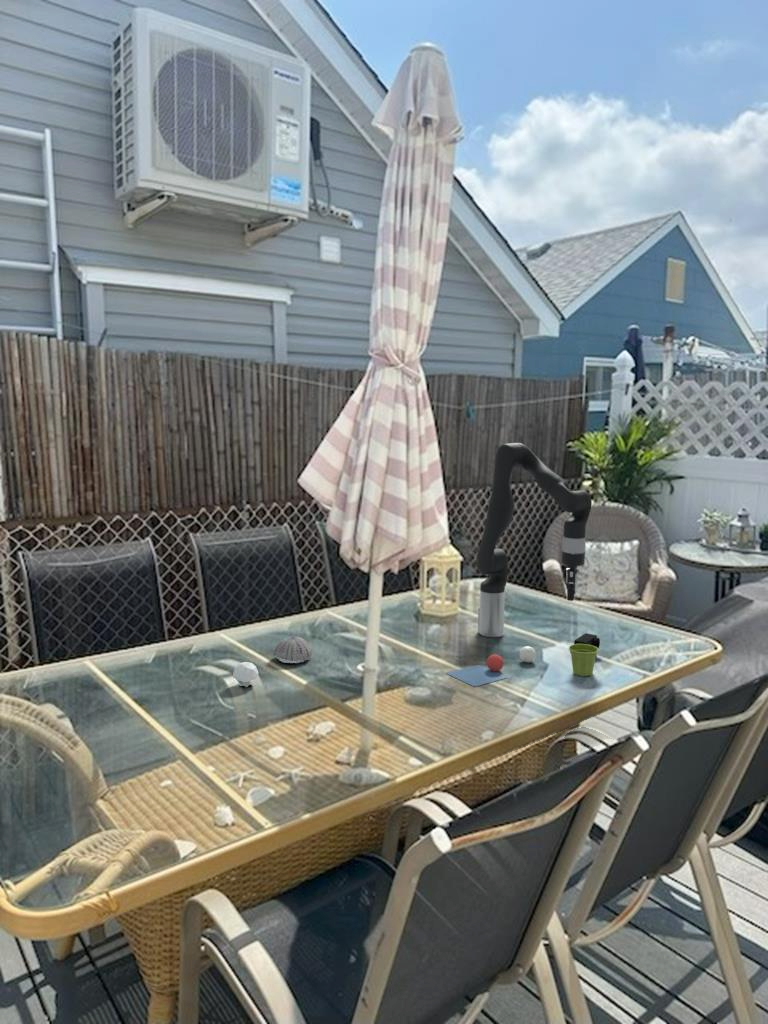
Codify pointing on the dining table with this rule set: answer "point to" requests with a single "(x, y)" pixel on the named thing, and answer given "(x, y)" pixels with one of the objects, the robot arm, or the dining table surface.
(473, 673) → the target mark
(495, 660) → the red ball
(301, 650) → the sea urchin shell
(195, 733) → the dining table surface
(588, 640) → the digital camera
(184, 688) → the dining table surface
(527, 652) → the cue ball
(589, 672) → the plant pot
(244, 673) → the geometric ball
